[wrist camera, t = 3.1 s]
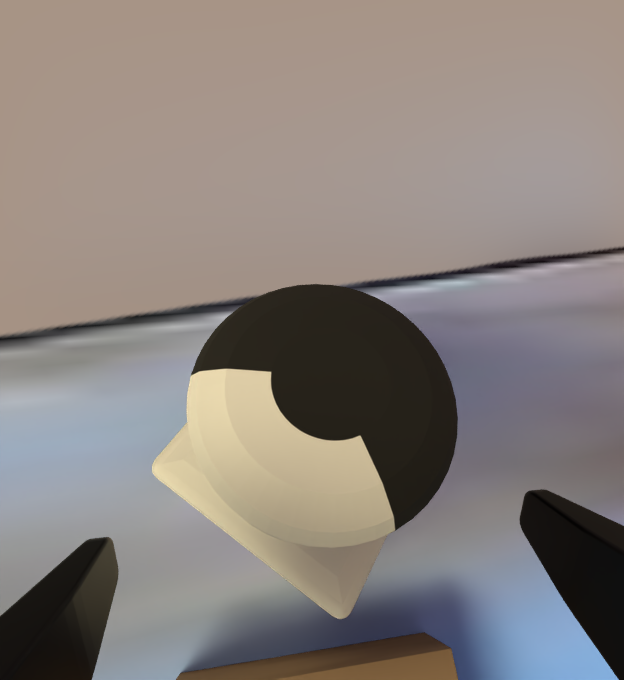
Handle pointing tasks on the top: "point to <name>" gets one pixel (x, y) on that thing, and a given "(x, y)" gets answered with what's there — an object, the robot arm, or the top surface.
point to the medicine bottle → (314, 434)
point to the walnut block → (348, 663)
